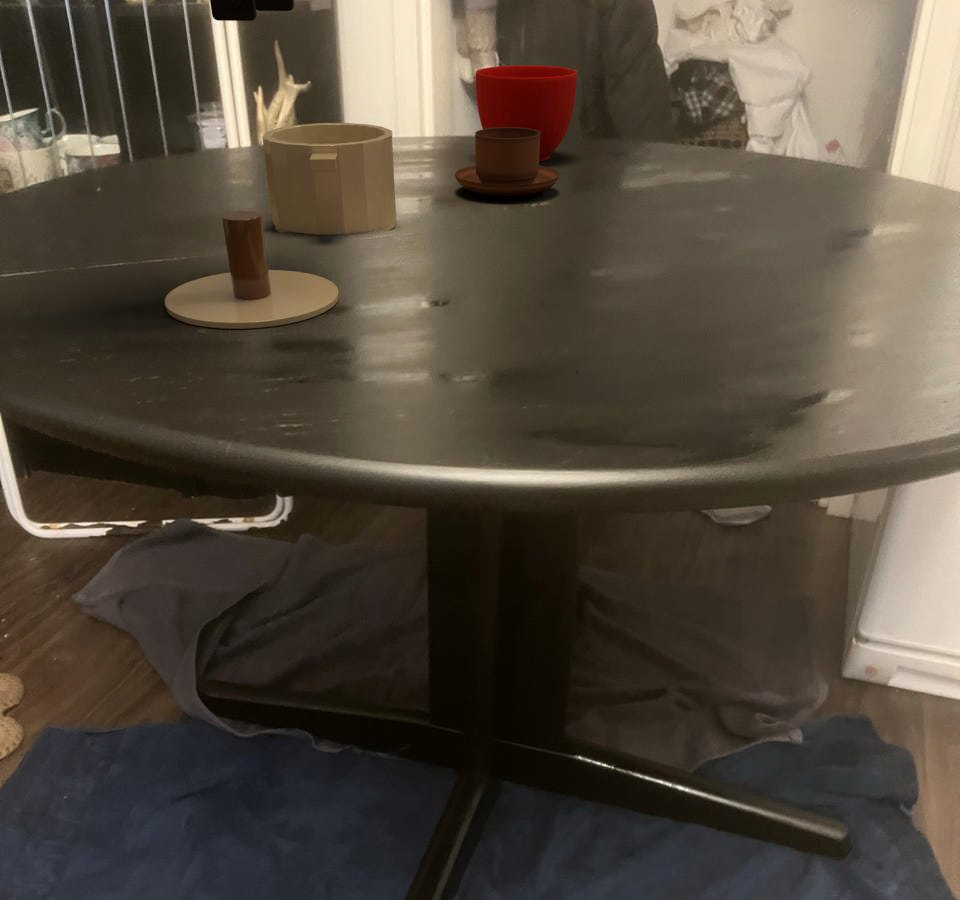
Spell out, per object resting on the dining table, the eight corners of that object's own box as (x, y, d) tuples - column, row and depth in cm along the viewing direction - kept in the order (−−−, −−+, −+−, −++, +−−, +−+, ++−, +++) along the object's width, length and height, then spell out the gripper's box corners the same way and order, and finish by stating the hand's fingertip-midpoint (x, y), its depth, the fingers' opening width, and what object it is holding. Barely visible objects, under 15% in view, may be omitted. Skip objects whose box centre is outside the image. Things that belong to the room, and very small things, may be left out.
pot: (264, 248, 94) (252, 151, 89) (283, 205, 108) (273, 119, 103) (395, 246, 94) (390, 149, 89) (397, 203, 109) (393, 118, 104)
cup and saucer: (450, 182, 118) (448, 125, 114) (547, 179, 119) (549, 122, 115) (461, 205, 108) (461, 143, 104) (568, 201, 109) (571, 140, 106)
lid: (150, 338, 74) (130, 240, 69) (184, 284, 85) (168, 196, 80) (334, 334, 74) (325, 236, 70) (344, 281, 85) (336, 193, 81)
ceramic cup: (563, 143, 138) (567, 61, 132) (579, 166, 125) (584, 77, 119) (472, 144, 138) (471, 62, 132) (478, 168, 124) (478, 78, 118)
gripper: (211, -268, 72) (244, 7, 82) (111, -313, 58) (166, 24, 69) (309, -270, 71) (331, 7, 82) (232, -316, 58) (269, 25, 68)
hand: (255, 15), depth 75 cm, fingers open, 9 cm apart
